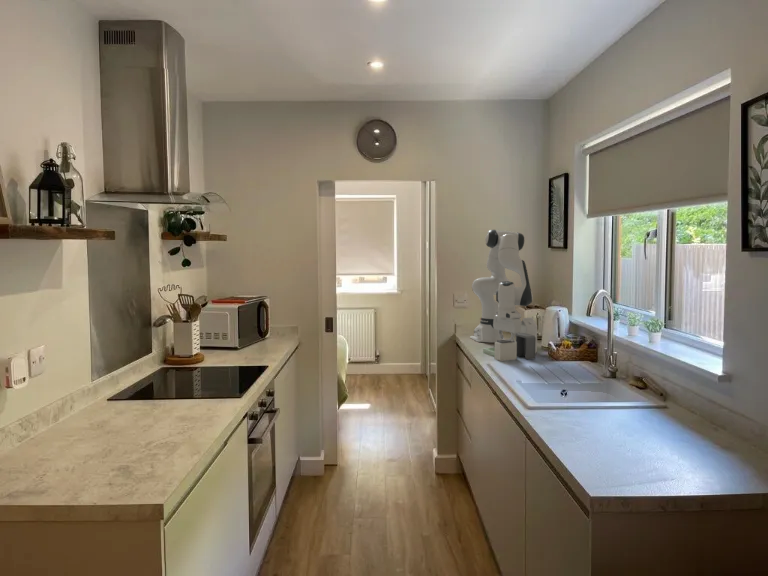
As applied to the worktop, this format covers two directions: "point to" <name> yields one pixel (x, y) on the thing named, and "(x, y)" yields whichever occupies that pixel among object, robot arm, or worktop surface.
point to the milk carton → (529, 328)
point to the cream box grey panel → (505, 350)
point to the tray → (489, 351)
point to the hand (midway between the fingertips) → (506, 339)
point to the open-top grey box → (525, 345)
